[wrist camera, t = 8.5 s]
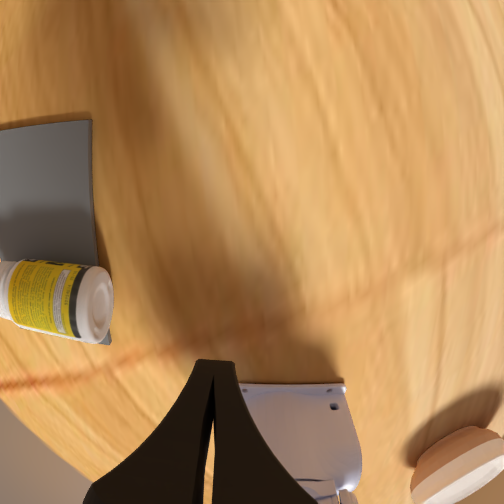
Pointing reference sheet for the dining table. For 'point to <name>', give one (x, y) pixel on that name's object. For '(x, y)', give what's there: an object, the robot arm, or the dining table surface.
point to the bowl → (457, 466)
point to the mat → (48, 195)
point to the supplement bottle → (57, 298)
